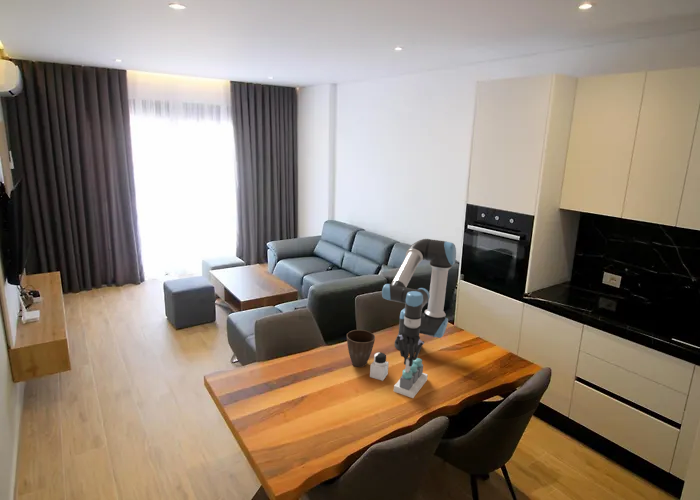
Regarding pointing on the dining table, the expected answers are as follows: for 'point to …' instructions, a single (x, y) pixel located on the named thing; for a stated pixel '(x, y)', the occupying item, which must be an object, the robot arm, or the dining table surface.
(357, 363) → the plant pot
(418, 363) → the knob
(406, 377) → the knob
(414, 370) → the knob
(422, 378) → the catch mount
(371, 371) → the medicine bottle
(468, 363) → the dining table surface
